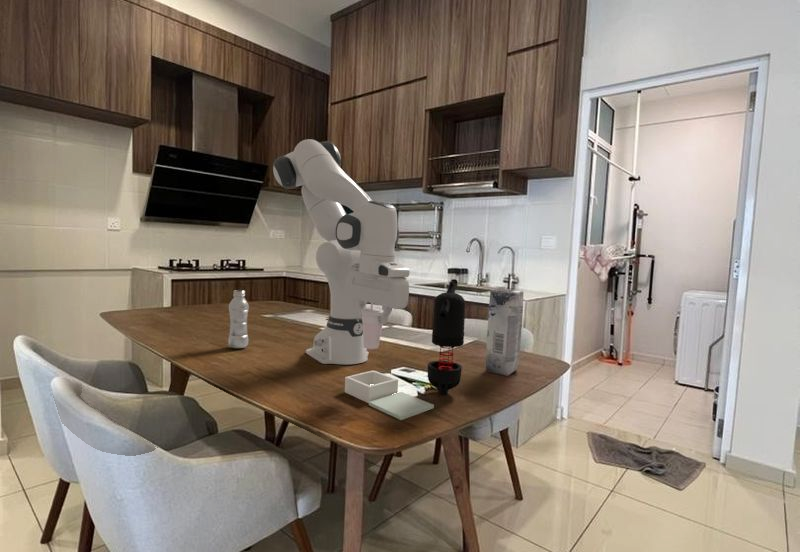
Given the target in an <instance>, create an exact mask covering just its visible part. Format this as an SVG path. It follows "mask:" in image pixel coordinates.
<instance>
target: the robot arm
mask: <svg viewBox="0 0 800 552" xmlns="http://www.w3.org/2000/svg"><path fill="white" fill-rule="evenodd" d="M341 159H342V158H341V153H340V152H339V149H338V148H337V146H336V145H335V144H334V143H333V142H331V141H330V140H329V141H328V140H326V141H317V140H315V139H309V138H307V139H304V140H301V141H300V142H299V143H297V145H296V146H295V147H294V150H293V151H291V152H289V153H287V154H285V155H281V156H279V157H277V158H275V159H274V162H273V163H272V170H273V177H274V178H275V181H277V183H278V184H279V185H280V186H281V187H282V188H283V189H286V190H292V189H296V187H301V186H302V187H301V190H300V192H301V197H302V199H303V200H302V201H303V203H304V205H305V209H306V211H307V213H308V215H309V217H310V219H311V221H312V223H313V225H314V227H315V229H316V232H317V233H318V235H319V236H320V237H321V238H322V239H324V240H325V242H323V243H321V244H320V245H319V246H318V247H317V250H316V251H315V252H316V253H315V261H316V265H317V267H318V268H319V270H320V271H321V272H323V275H324V276H325V278H326V280H327V283H328V286H329V292H330V315H329V316H325V321H326V322H327V323H326V325H325V326H326V327H324V328H323V329H322V330H321V331H319V332H318V333H317V334H316V335H315V336H314V337H313V344H312V345H313V346H312V347H310V348H308V349H306V350H305V353H306V354H307V355H308V356H310V357H311V358H313V359H314V360H316V361H318V362H319V363H321V364H324V365H328V364H330V365H331V364H333V365H357V364H361V363H365V362H367V361H368V360H369V359H368V356H369V353H370V352H369V351H368V349H366V348H364V342H363V324H362V314H361V309H363V308H367V304H368V303H369V304H371V303H373V305H378V306H382V307H381V309H382V310H384V311H383V313H382V316H379V323H381V324H383V325H387V324H388V321H389V316H390V315H391V313H392V311H393V310H403V309H405V308H406V307H407V306H408V304H409V298H410V297H409V295H410V294H409V293H410V285H409V284H410V283H409V280H408V278H409V277H410V272H411V271H410V268H408V267H406V266H405V265H403V264H402V263H400V262H399V261H398V260H396V250H395V247H396V246H397V244H398V241H399V238H400V230H399V226H398V211H397V209H396V207H395V206H394V205H393V204H391V203H388V202H384V201H383V202H382V201H377V200H372V199H371V197H370V196H369V195H368V194H367V192H366V191H365V190H364V189H362V188H361V186H359V184H358V183H356V182H355V181H354V180H353V179H352V178H351V177H350V176H349V175H348V174H347V173H346V172H345V171H344V170H343V168H341V166H342V162H341V161H342V160H341ZM343 206H344V207H347V208H349V209H350V210H351V211H353V212H351V213H347V212H346V211H345V209H344V207H343Z"/></svg>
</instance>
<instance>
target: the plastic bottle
mask: <svg viewBox="0 0 800 552" xmlns="http://www.w3.org/2000/svg"><path fill="white" fill-rule="evenodd" d="M232 296H233V298H232V299H231V301H230V302H229V304H228V312H229V321H230V323H229V335H228V339H227V343H228V346H229V348H231V349H238V350H239V349H244V348H246V347H248V345H249V335H248V314H249V308H250V305H249V303H248V301H247V299H246V298H245V296H246V290H245V289H244V290H243V289H235V290H233V294H232Z"/></svg>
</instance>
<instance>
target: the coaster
mask: <svg viewBox="0 0 800 552" xmlns="http://www.w3.org/2000/svg"><path fill="white" fill-rule="evenodd" d="M368 406H370V407H372V408H374V409H375V410H378V411H380V412H382V413H385V414H387V415H389V416H391V417H394V418H396V419H398V420H399V421H403V420H406V419H408V418H411V417H413V416H416V415H420V414H423V413H424V412H427V411H429V410H433V409H434V408H435V405H434V404H433V403H430V402H427V401H425V400H423V399H420V398H417V397H415V396H413V395H410V394H408V393H405V392H404V391H403V392H402V391H400V392H398V393H396V394H393V395H389V396H386V397H383V398H380V399H376V400H373V401H370V402H369V403H368Z"/></svg>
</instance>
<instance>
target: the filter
mask: <svg viewBox="0 0 800 552" xmlns="http://www.w3.org/2000/svg"><path fill="white" fill-rule="evenodd" d="M448 284H449V285H448V287H447V290H446V292H445V291H444V292H442V293H440V294H438V295H436V297H435V299H434V301H433V302H434V303H433V319H432V320H433V322H432V332H431V334H432V335H431V343H432V344H433V345H435V346H439V353H438V355H439V359H438V360H432V361H429V362H427V381H428V382H429V384H430V385H431V386H433V387H434V388H436V389H438V394H439V395H442V396H446V395H448V394H449V390H451V389H454V388H456V387H457V386H458V385H460V382H461V377H462V369H463V366H462V364H460V363H457V362H454V359H453V358H454V353H453V352H454V348H459V347H462V346H464V344H465V343H464V342H465V323H466V322H465V319H466V300H465V298H464V297H463V296H462V295H461V294H459V293H457V292H456V289H457V287H458V280H457V279H455V278H452V279H451V280H450V281H449V283H448ZM442 349H444V350H445V349H447V350H452V351H451V352H450V351H442ZM441 356H442V357H443V358H442V357H441ZM444 357H448V358H444ZM450 357H451V359H449V358H450Z"/></svg>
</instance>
